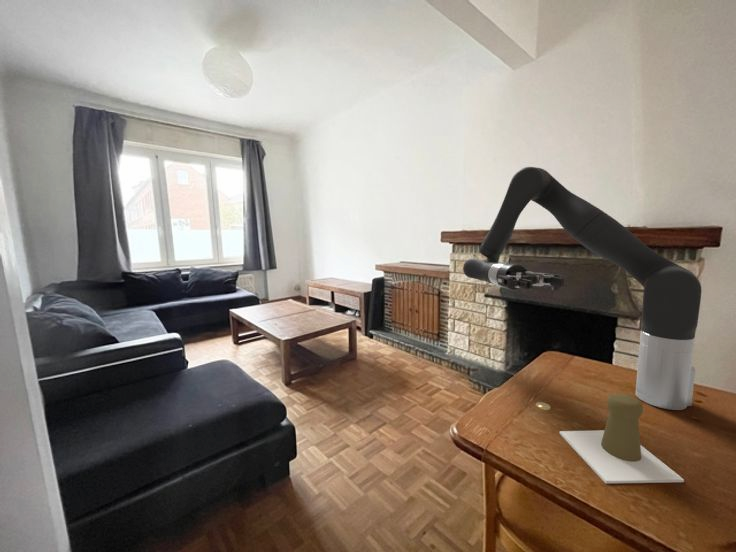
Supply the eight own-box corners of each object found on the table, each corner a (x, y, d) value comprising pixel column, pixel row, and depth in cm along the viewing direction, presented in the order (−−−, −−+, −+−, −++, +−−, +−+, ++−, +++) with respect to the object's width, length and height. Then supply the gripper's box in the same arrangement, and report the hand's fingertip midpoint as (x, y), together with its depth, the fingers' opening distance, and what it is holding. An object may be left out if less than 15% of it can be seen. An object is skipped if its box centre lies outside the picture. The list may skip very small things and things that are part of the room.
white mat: (621, 432, 64) (621, 429, 64) (683, 482, 51) (684, 479, 51) (559, 433, 64) (559, 431, 64) (605, 483, 51) (605, 480, 51)
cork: (593, 440, 61) (596, 390, 59) (620, 437, 61) (624, 387, 60) (620, 463, 55) (625, 407, 53) (650, 459, 55) (656, 404, 54)
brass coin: (541, 402, 77) (541, 400, 76) (553, 408, 74) (553, 406, 74) (532, 406, 75) (532, 404, 75) (545, 412, 72) (545, 410, 72)
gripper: (485, 264, 88) (521, 270, 72) (529, 261, 90) (573, 267, 74) (484, 289, 89) (520, 301, 73) (528, 286, 91) (572, 297, 75)
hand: (547, 284), depth 73 cm, fingers open, 8 cm apart
